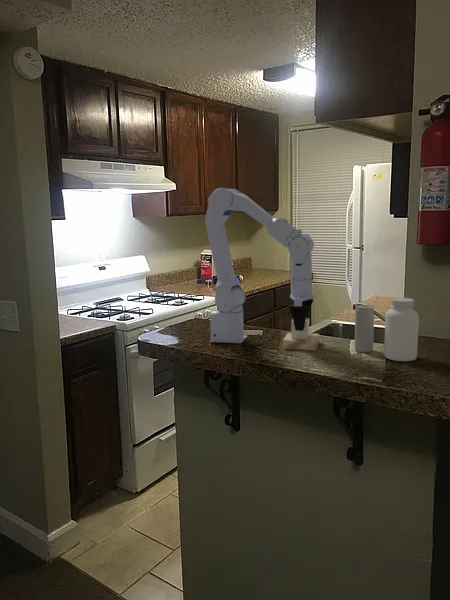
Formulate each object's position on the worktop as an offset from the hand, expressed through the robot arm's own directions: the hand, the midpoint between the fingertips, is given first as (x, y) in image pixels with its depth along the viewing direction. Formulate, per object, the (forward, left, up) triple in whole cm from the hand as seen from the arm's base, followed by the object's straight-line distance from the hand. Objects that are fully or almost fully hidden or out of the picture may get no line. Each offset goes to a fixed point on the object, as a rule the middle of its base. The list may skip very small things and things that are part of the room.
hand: (301, 327), depth 142 cm
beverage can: (+17, -2, -5) cm, 18 cm away
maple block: (0, 0, -6) cm, 6 cm away
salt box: (0, 0, -3) cm, 3 cm away
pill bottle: (+26, -8, -5) cm, 28 cm away
